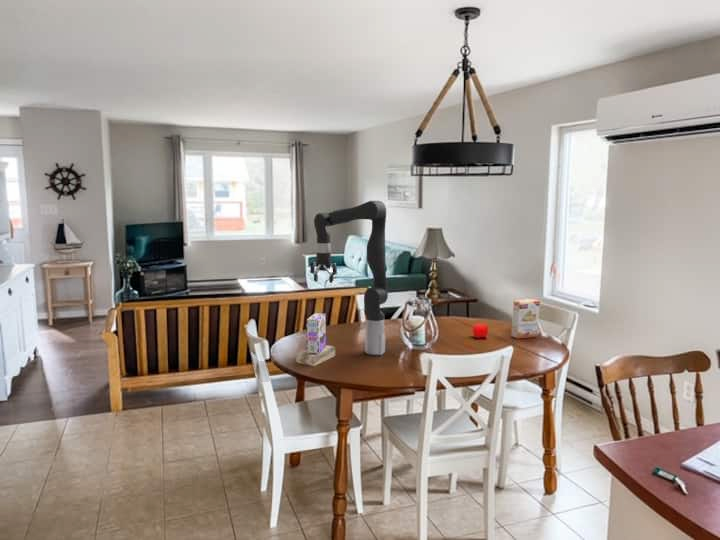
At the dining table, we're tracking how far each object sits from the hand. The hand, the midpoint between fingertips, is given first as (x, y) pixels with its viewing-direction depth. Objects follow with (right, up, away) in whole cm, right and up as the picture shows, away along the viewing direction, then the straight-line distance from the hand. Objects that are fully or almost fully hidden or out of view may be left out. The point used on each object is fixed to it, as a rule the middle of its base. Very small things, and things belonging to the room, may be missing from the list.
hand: (323, 282), depth 272 cm
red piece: (+86, -32, +17) cm, 93 cm away
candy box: (-1, -32, -26) cm, 41 cm away
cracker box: (+112, -32, +19) cm, 118 cm away
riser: (-2, -37, -25) cm, 45 cm away
